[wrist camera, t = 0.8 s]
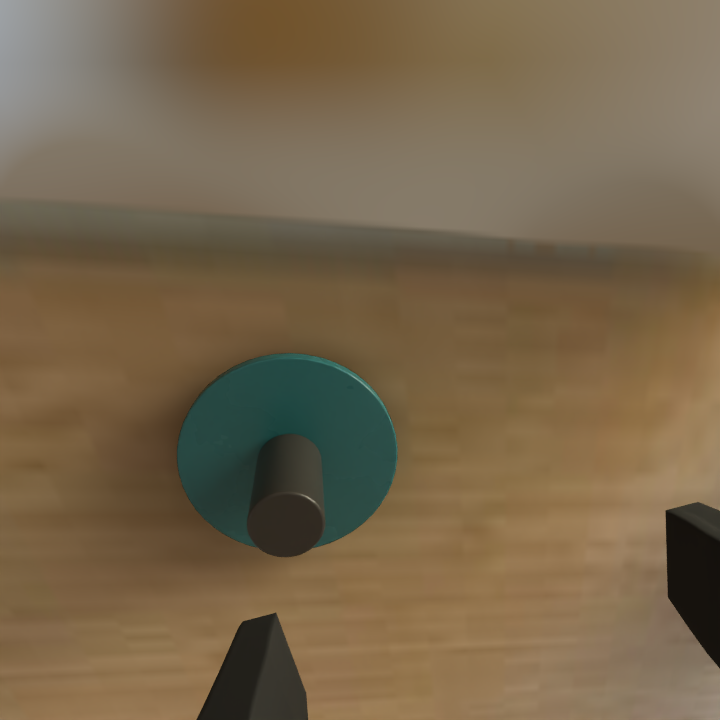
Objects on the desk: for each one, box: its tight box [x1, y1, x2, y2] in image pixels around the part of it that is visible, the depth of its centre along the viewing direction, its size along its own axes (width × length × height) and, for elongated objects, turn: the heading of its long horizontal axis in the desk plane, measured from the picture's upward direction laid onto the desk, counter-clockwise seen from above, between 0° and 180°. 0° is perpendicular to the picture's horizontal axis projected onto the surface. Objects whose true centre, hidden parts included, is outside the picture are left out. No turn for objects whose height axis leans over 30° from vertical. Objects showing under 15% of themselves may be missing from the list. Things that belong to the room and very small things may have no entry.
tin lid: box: [177, 353, 397, 557], centre depth 17 cm, size 8×8×5 cm
